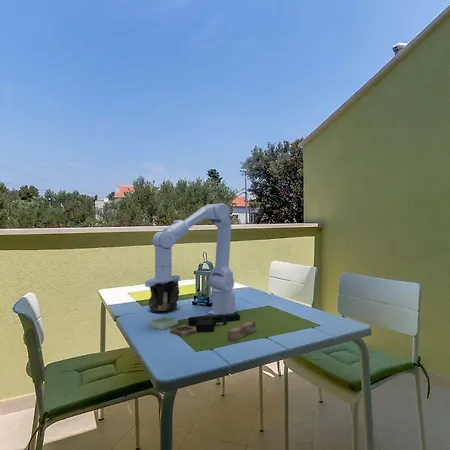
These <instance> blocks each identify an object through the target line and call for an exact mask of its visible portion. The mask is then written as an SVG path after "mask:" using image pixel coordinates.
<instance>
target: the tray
mask: <svg viewBox="0 0 450 450" xmlns="http://www.w3.org/2000/svg"><path fill="white" fill-rule="evenodd" d="M148 324H149V325H148V327H149V328H153V329H155V330H159V331H166V330H168V329H169V330H170V329H173V328H175V327H178V326H179V319H175V318H172V317H167V316H161V317H159V318H155V319H152V320H149V321H148Z"/></svg>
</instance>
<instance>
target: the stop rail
mask: <svg viewBox="0 0 450 450" xmlns="http://www.w3.org/2000/svg"><path fill="white" fill-rule="evenodd" d="M255 331H256V321H254V320H249V321H247V322H244V323H242V324H240V325H237V326H235V327H233V328H232V329H229V330H227V342H232V343H234V342H236V341H237V340H240V339H242V338H244V337H246V336H248V335H250V334H252V333H253V332H255Z"/></svg>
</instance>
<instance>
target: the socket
mask: <svg viewBox="0 0 450 450" xmlns="http://www.w3.org/2000/svg"><path fill="white" fill-rule="evenodd" d="M184 330H185V331H184ZM196 333H198V332H197V329H196V326H195V327H194V326H190V325H189V324H188V325H187V324H182V325H178V326H175V327H172V328H170V329H169V334H171V335H175V336H178V337H182V338H186V337H188V336H191V335H194V334H196Z"/></svg>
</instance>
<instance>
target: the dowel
mask: <svg viewBox="0 0 450 450" xmlns="http://www.w3.org/2000/svg"><path fill="white" fill-rule="evenodd" d="M159 310H160V311H159V312H162V311H163V312H164V311H167V310H168V309H167V292H164V293H163V304H162V306H159Z"/></svg>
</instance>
